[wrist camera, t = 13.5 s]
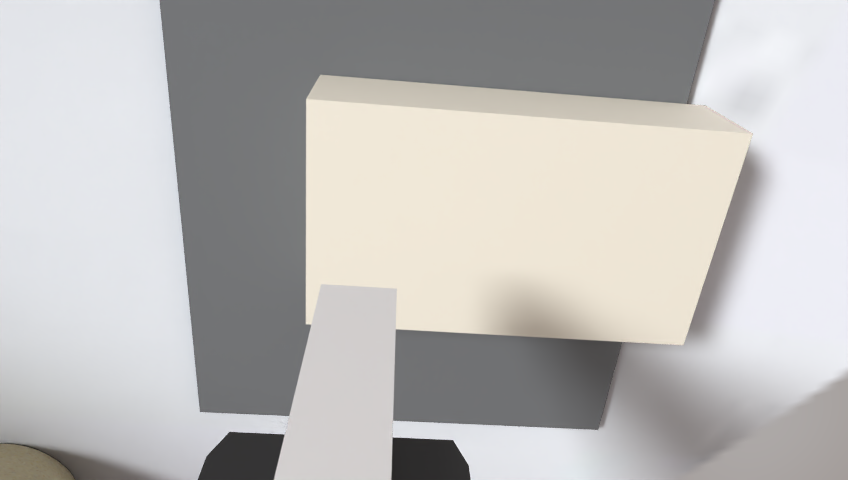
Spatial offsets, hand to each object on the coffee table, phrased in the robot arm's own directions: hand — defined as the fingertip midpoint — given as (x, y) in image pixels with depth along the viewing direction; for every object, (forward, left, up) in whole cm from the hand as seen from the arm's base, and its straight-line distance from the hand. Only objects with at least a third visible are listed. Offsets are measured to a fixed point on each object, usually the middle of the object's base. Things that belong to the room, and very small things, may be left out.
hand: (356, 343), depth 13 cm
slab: (-2, 0, -7) cm, 7 cm away
